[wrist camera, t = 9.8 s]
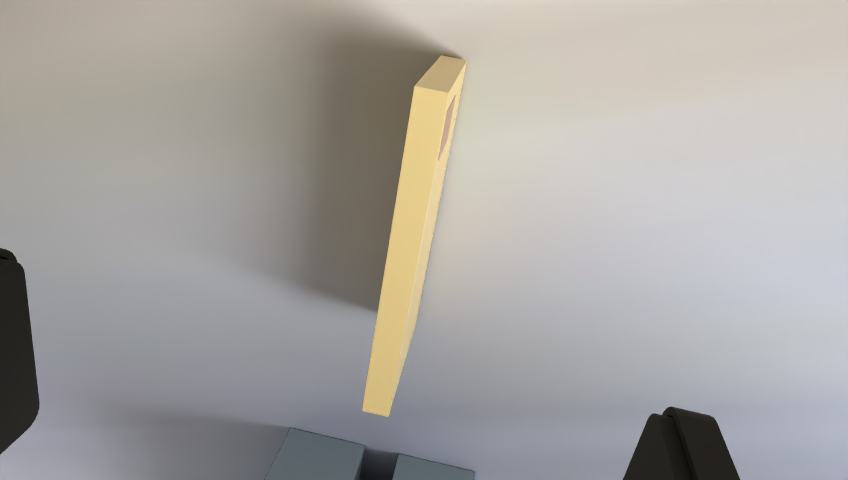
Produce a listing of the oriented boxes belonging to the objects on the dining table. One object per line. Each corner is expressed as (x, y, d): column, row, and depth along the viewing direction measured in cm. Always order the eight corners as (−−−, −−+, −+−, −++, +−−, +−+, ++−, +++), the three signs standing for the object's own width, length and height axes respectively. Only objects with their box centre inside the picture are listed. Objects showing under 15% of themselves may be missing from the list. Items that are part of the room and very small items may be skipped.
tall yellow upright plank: (467, 60, 24) (449, 92, 18) (416, 325, 29) (388, 417, 23) (440, 55, 24) (413, 85, 18) (394, 320, 29) (361, 410, 23)
